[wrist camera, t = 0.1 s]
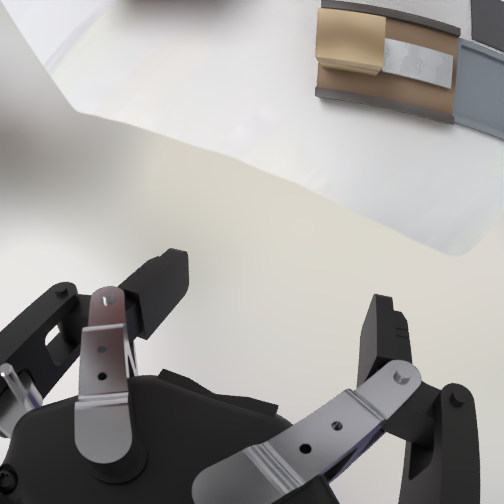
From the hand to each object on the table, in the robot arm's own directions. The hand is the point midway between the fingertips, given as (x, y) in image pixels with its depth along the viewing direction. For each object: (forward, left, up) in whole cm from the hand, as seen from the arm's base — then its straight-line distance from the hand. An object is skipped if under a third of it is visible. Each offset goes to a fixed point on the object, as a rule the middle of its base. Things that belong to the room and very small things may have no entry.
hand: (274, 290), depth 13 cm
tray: (-14, +19, -29) cm, 38 cm away
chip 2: (-14, +11, -26) cm, 32 cm away
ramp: (-14, +6, -29) cm, 33 cm away
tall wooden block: (-14, +1, -26) cm, 30 cm away
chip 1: (-14, +7, -26) cm, 31 cm away
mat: (-25, +21, -29) cm, 44 cm away
